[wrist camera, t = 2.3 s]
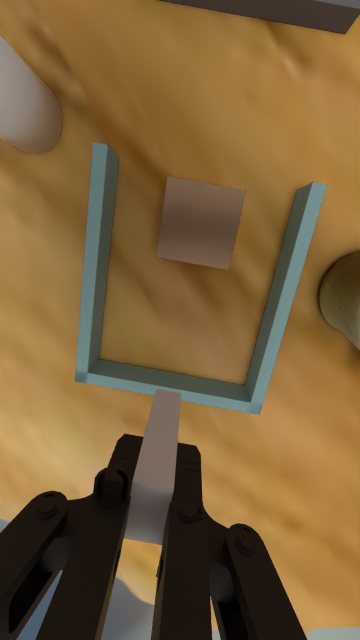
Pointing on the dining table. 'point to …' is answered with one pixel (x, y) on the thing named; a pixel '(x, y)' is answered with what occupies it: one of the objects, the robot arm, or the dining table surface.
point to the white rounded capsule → (26, 106)
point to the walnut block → (199, 222)
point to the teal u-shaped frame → (152, 379)
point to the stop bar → (289, 11)
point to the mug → (343, 297)
